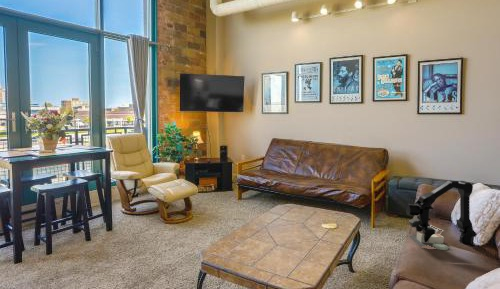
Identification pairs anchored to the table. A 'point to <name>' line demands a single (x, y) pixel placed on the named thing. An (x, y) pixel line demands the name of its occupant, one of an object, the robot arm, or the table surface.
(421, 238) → the cream block
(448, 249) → the mat
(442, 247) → the coaster
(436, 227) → the crown molding
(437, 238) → the cream labeled box
